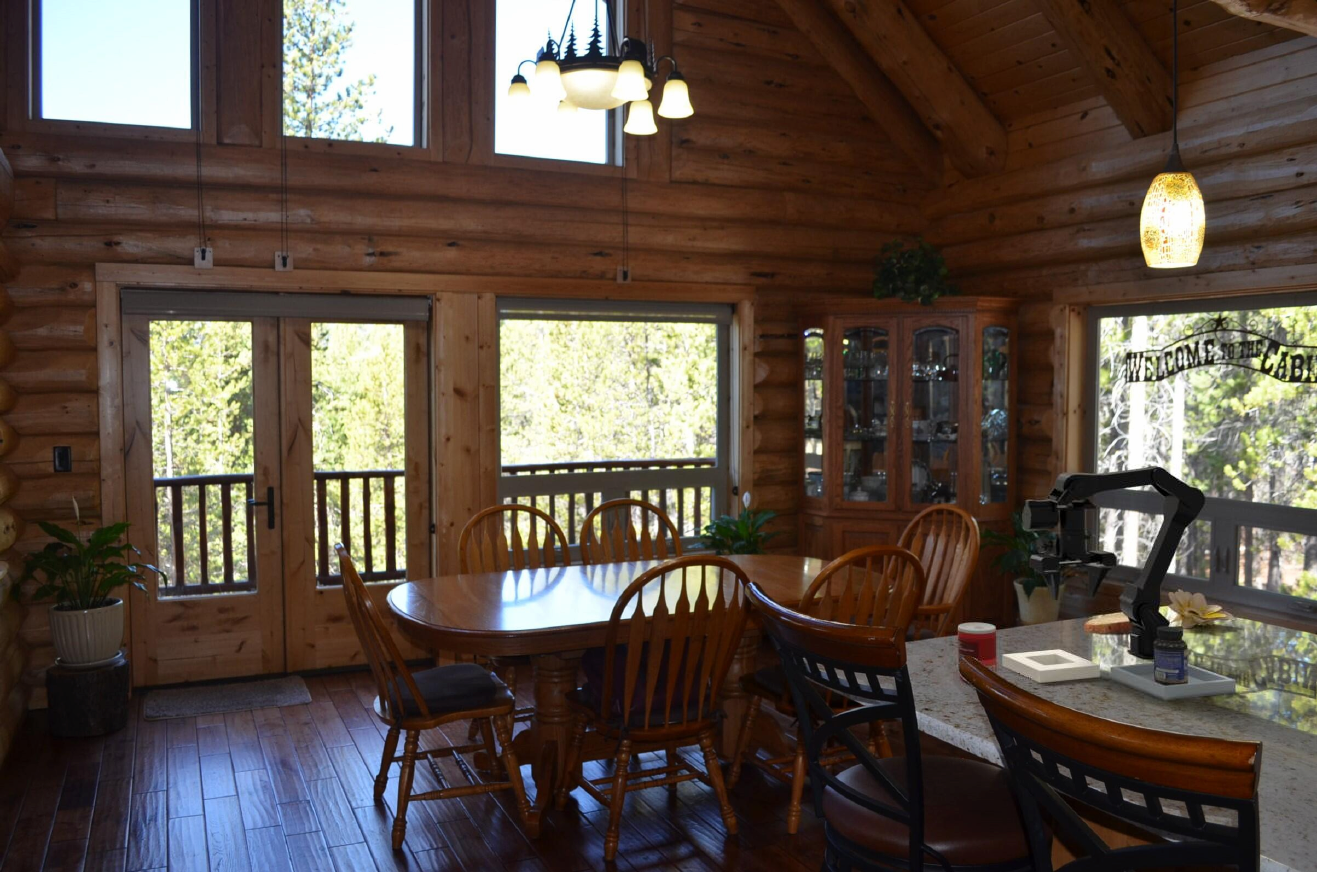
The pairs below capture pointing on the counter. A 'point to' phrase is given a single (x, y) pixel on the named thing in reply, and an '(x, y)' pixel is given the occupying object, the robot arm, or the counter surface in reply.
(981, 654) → the canned food
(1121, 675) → the tray
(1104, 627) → the slice of bread
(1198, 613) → the decorative flower
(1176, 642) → the pill bottle
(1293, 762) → the counter surface
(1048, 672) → the white square frame
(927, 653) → the counter surface
